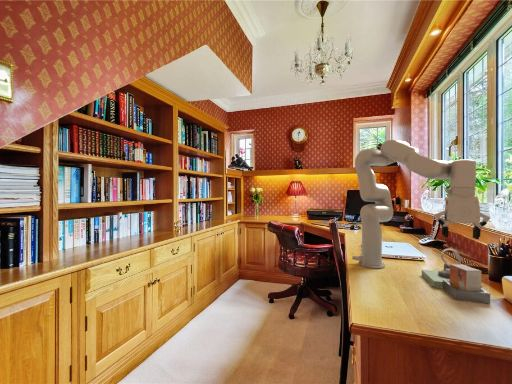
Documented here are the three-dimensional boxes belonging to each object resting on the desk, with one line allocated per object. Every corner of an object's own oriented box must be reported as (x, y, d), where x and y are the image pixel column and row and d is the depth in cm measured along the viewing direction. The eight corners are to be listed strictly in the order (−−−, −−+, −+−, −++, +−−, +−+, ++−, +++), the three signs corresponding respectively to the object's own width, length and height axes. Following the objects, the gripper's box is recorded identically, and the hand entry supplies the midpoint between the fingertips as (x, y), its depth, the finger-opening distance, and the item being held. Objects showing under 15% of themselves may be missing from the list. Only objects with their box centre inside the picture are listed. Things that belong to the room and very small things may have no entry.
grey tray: (455, 300, 93) (455, 290, 93) (442, 288, 104) (442, 279, 104) (490, 303, 90) (490, 293, 90) (472, 291, 102) (472, 282, 102)
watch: (462, 274, 122) (463, 251, 121) (441, 272, 125) (442, 249, 125) (459, 271, 127) (460, 248, 127) (439, 269, 130) (439, 247, 130)
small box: (448, 291, 101) (449, 264, 101) (463, 291, 101) (463, 264, 101) (465, 299, 93) (466, 270, 93) (481, 300, 93) (481, 270, 93)
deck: (433, 287, 105) (434, 273, 105) (421, 275, 121) (421, 263, 121) (482, 292, 101) (482, 277, 101) (462, 278, 116) (463, 266, 116)
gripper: (439, 192, 98) (437, 237, 99) (495, 193, 93) (494, 241, 93) (432, 191, 105) (430, 234, 106) (484, 193, 100) (483, 237, 100)
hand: (460, 237), depth 100 cm, fingers open, 9 cm apart
